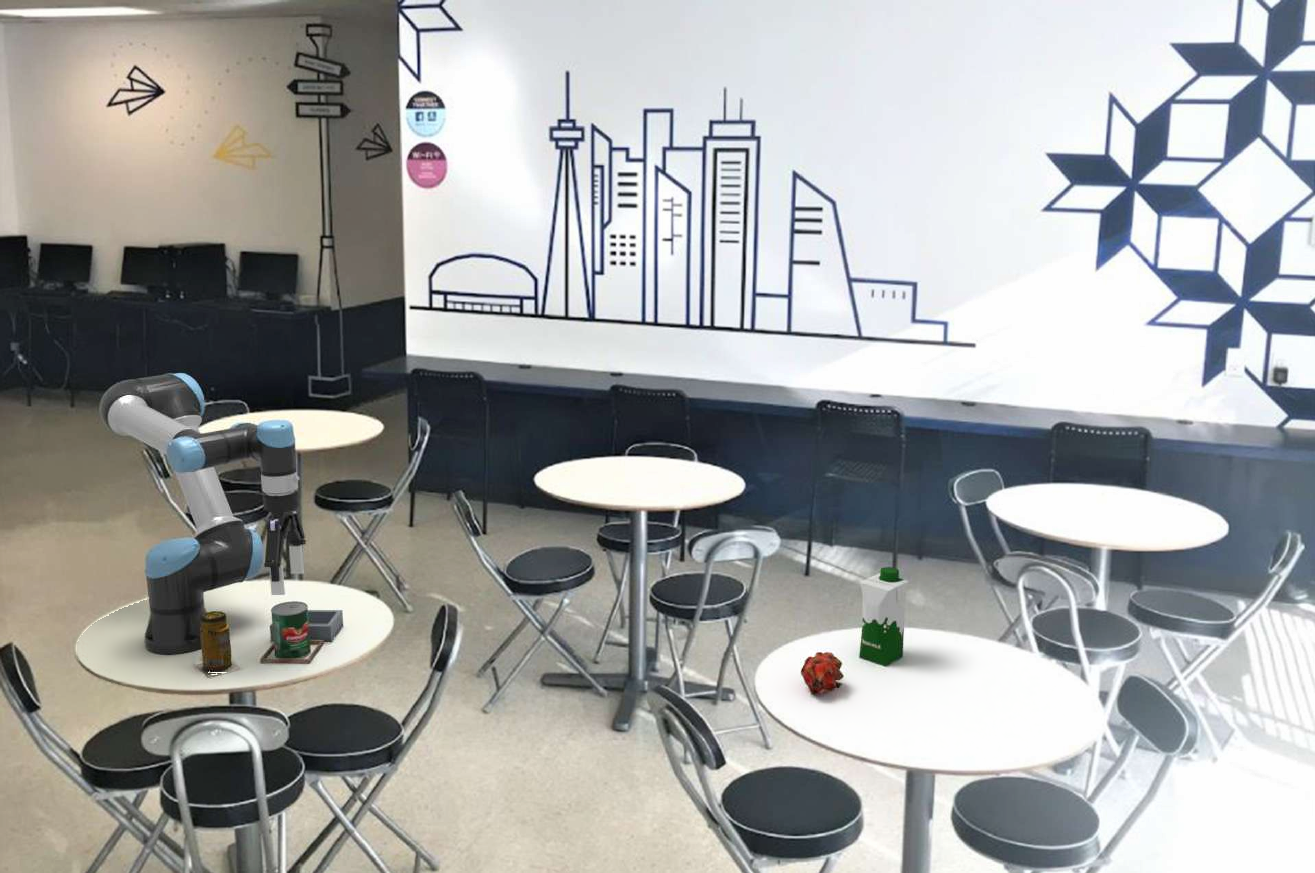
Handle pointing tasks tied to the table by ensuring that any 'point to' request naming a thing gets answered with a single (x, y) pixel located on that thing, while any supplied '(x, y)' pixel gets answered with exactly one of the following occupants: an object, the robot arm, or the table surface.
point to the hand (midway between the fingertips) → (288, 583)
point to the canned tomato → (291, 630)
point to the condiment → (215, 644)
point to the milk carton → (883, 617)
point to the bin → (322, 624)
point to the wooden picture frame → (292, 660)
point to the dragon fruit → (822, 672)
